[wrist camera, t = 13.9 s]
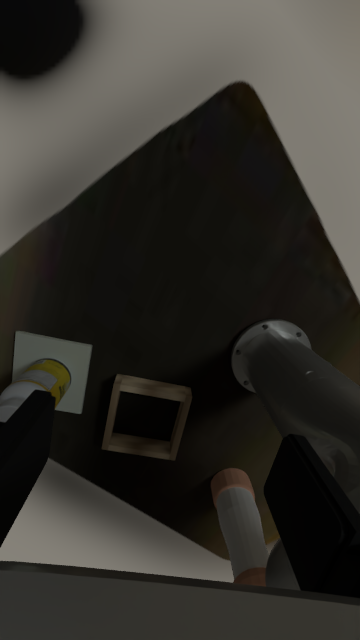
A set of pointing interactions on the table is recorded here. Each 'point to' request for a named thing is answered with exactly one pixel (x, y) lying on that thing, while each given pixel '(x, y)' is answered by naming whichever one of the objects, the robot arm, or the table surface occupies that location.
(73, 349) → the ceramic tile
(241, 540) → the pepper shaker
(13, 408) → the pill bottle
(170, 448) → the oak cradle
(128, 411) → the table surface
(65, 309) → the table surface
